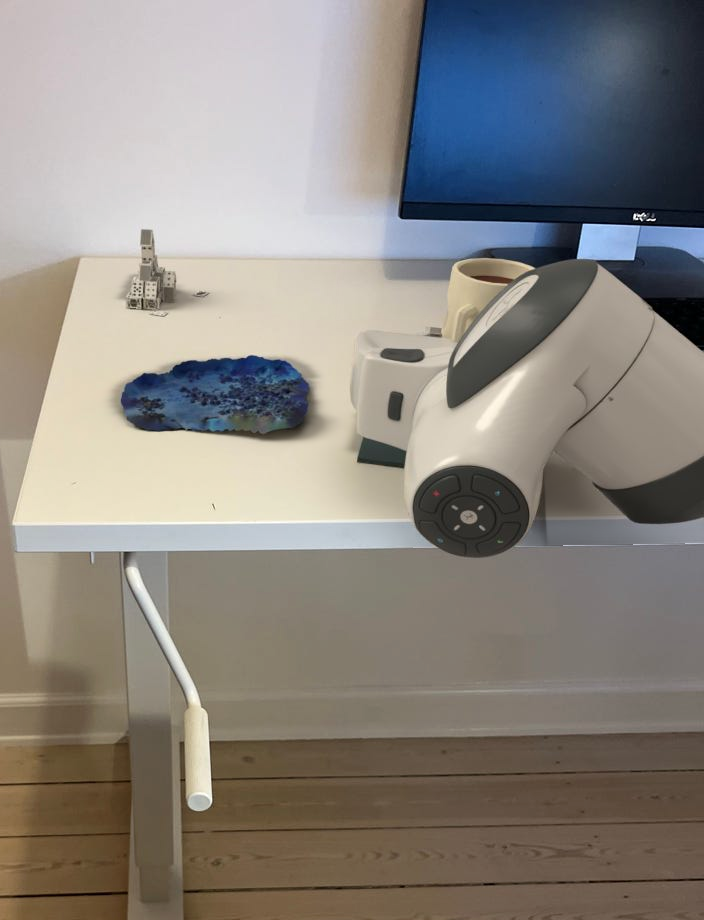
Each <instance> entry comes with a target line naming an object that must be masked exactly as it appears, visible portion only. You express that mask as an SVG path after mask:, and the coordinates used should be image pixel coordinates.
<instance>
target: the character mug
mask: <svg viewBox="0 0 704 920" xmlns="http://www.w3.org/2000/svg"><path fill="white" fill-rule="evenodd" d="M533 269H536V267H534V266H532V265H529V264H526V263H523V262H520V261H514V260H510V259H509V260H508V259H504V258H489V257H481V258H468V259H463V260H459V261H457V262H455V263H454V264H453V265H452V267H451V273H450V278H449V283H448V289H447V293H446V297H447V313H446V316H445V320H444V322H443V325H442V327H441V328H442V330H441V331H442V332H441V333H442V334H441V338H450V339H451V340H452V341H455V342H459V340H460V339H461V337H462V336H463V335H464V333H465V332H466V330H467V329H468V328H469V326H470V325H471V324H472V322H473V321H474V320H475V318H476V317H477V316H478V315H479V314H480V312H481V311H482V310H483V309H484V308H485V307H486V306H487V304H488V303H489V302H490V301H491V300H492V299H493V298H494V297H495V296H496V295H497V294H498V293H499V292H500V291H501V290H502V289H504V288H505V287H506V286H507V285H508V284H509V283H510V282H512V281H513V280H514V279H516V278H517V277H519V276H520V275H522V274H524V273H525V272H527V271H530V270H533Z"/></svg>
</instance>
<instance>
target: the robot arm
mask: <svg viewBox="0 0 704 920" xmlns="http://www.w3.org/2000/svg"><path fill="white" fill-rule="evenodd" d="M442 328H443V327H435V326H427V325H426V326H424V328H423V329H424V330H423V331H421V332H418V333H414V334H411V333H400V332H391V331H380V330H373V329H372V330H371V329H370V330H369V329H368V330H363V331H359V332H357V333H356V334H355V336H354V343H353V350H352V359H351V369H350V370H351V371H350V382H349V395H350V397H349V398H350V402H351V404H352V407H353V408H354V409H355V427H356V433H357V434H358V435H359V436H361V437H362V438H363V437H365V438H368V439H372V440H375V441H379V442H382V443H385V444H388V445H391V446H394V447H397V448H399V449H402V450H404V451H407V452H406V459H405V466H404V468H403V497H404V503H405V508H406V511H407V514H408V516H409V519H410V520H411V523H412V524H413V526H414V528H415V529H416V531H417V532H418V533H419V535H421V536H422V537H423V538H424V539H425V540H426V541H428V543H430V544H432V546H435V547H436V548H438V549H440V550H441V551H443V552H445V553H447V554H451V555H452V556H453V555H454V556H457V557H461V558H470V559H485V558H486V559H487V558H492V557H496V556H500V555H503V554H505V553H507V552H510V551H511V550H512V549H513V548H515V547H516V546H518V545H519V544H520V543H521V542H522V541H523V540H524V539H525V537H527V535H528V533H529V531H530V530H531V528H532V526H533V523H534V521H535V519H536V515H537V513H538V512H537V511H538V508H539V506H540V499H541V495H542V488H543V478H544V468H545V466H546V464H547V462H548V460H549V458H550V456H551V454H552V452H554V453H555V454H557V455H558V456H559V457H560V458H562V459H563V460H565V462H566V463H568V464H569V465H571V466H572V467H573V468H574V469H576V470H577V471H578V472H580V473H581V474H582V475H584V477H585V478H587V479H588V480H590V481H591V483H592V485H593V486H594V487H595V488H596V490H598V491H599V492H600V493H601V494H602V495H603V496H604V497H605V498H606V499H607V500H608V501H609V502H610V503H612V505H613V506H615V507H616V508H617V509H618V510H619V511H620V513H622V514H623V515H624V516H625V517H626V518H627V519H628V520H629V521H631V522H633V523H636V524H642V525H670V524H678V523H680V524H681V523H686V522H691V521H696V520H699V519H703V518H704V351H703V350H701V349H700V348H699V347H698V346H697V345H695V344H694V343H693V342H692V341H690V339H688V338H687V337H686V336H685V335H683V334H682V332H681V333H680V332H679V330H677V329H676V328H674V326H672V324H670V323H669V322H668V321H667V320H665V319H664V318H663V317H661V316H660V315H659V313H657V312H655V310H653V306H651V305H650V304H648V302H647V301H645V300H644V299H643V298H642V297H640V296H639V295H638V294H637V293H635V292H634V291H633V290H632V289H631V288H629V287H628V286H627V285H626V284H624V283H623V282H622V281H621V280H620V279H618V278H617V277H616V276H615V275H614V274H613V273H611V272H610V271H609V270H607V268H604V267H603V266H602V265H601V264H599V263H598V261H597V260H595V259H591V258H572V259H565V260H561V261H560V260H559V261H557V262H553V263H549V264H545V265H542V266H539V267H535V269H533V270H530V271H527V272H525V273H524V274H522V275H520V276H519V277H517V278H516V279H514V280H513V281H512V282H510V283H509V284H508V285H507V286H506V287H505V288H504V289H502V290H501V291H500V292H499V293H498V294H497V295H496V296H495V297H494V298H493V299H492V300H491V301H490V302H489V303H488V304H487V306H486V307H485V308H484V309H483V310H482V311H481V312H480V314H479V315H478V316H477V317H476V318H475V320H474V321H473V322H472V324H471V325H470V326H469V328H468V329H467V330H466V332H465V333H464V335H463V336H462V337H461V339H460V340H459V342H455V341H452V340H451V339H450V338H441V334H442V333H441V332H442V331H441V330H442Z"/></svg>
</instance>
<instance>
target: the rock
mask: <svg viewBox="0 0 704 920" xmlns="http://www.w3.org/2000/svg"><path fill="white" fill-rule="evenodd" d="M309 390H310V383H309V382H308V381H306V380H305V378H304V377H303V374H302V373H301V372H299V371H298V370H297V369H296V368H295V367H293V365H292V364H291V363H290V362H289V361H288V362H287V360H281V359H279V358H278V359H270V358H269V359H268V358H264V357H263V356H258V355H254V354H250V355H247V356H246V357H239V358H234V359H233V358H231V357H221V358H220V359H218V358H211V359H207V360H201V361H199V360H196V359H190V360H186V361H181V363H179V364H175V365H174V366H173V367H172V368H171V369H170V370H169V372H168V371H166V372H164V373H159V374H157V373H155V372H150V373H149V372H148V373H147V372H143V373H142V374H141V375H139V376H137V377H136V378H134V379H133V380H132V381H129V382H127V383H126V384H125V385H124V388H123V391H122V392H121V398H120V404H121V406H122V410H123V413H124V415H125V416H126V420H127V422H129V423H131V424H132V425H133V426H134V427H135V428H139V429H144V430H145V431H155V432H160V431H162V430H166V431H167V430H168V431H169V430H170V431H176V430H178V429H184V430H185V431H187V430H189V429H190V430H192V431H193V432H195V431H201V432H204V431H207V430H210V431H211V432H216V431H220V432H223V431H224V430H228V431H229V432H231V431H233V430H234V431H240V430H243V431H246V432H247V431H250V432H251V433H254V434H255V433H257V432H259V433H260V434H261V435H265V434H267V433H269V432H272V431H276V430H281V429H294V428H296V427H297V426H298V425H299V424H302V422H303V419H304V418H305V415H307V412H308V410H309V407H310V404H309V403H310V402H309V401H306V398H307V396H308V395H309V393H308V392H309Z"/></svg>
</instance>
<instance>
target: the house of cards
mask: <svg viewBox="0 0 704 920" xmlns="http://www.w3.org/2000/svg"><path fill="white" fill-rule="evenodd" d="M139 241H140V242H139V246H140V248H141V260H140V262H139V263H138V266H139V268H138V269H139V270H138V271H137V273H138V275H134V276H133V278H132V280H131V285H130V290H129V291H128V292H127V294H126V296H125V308H126V309H130V308H136V309H135V310H141V309H143V311H144V310H152V311H151V312H149V315H152V316H153V315H154V316H160V317H164V316H166V315H167V314H168V313H169V312H168V311H162V310H160V304H161V303H162V301H163V302H164V303H175V299H176V298H177V277H176V276H177V275H176V271H175V270H166V268H165V266H159V261H158V254H156V253H155V252H156V250H155V236H154V230H153V229H149V228H140V239H139ZM209 293H210V292H209V291H205V290H198V291H196V292H195V293H193V294H192V295H193V296H197V297H202V298H203V297H204V296H206V295H207V294H209Z"/></svg>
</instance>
